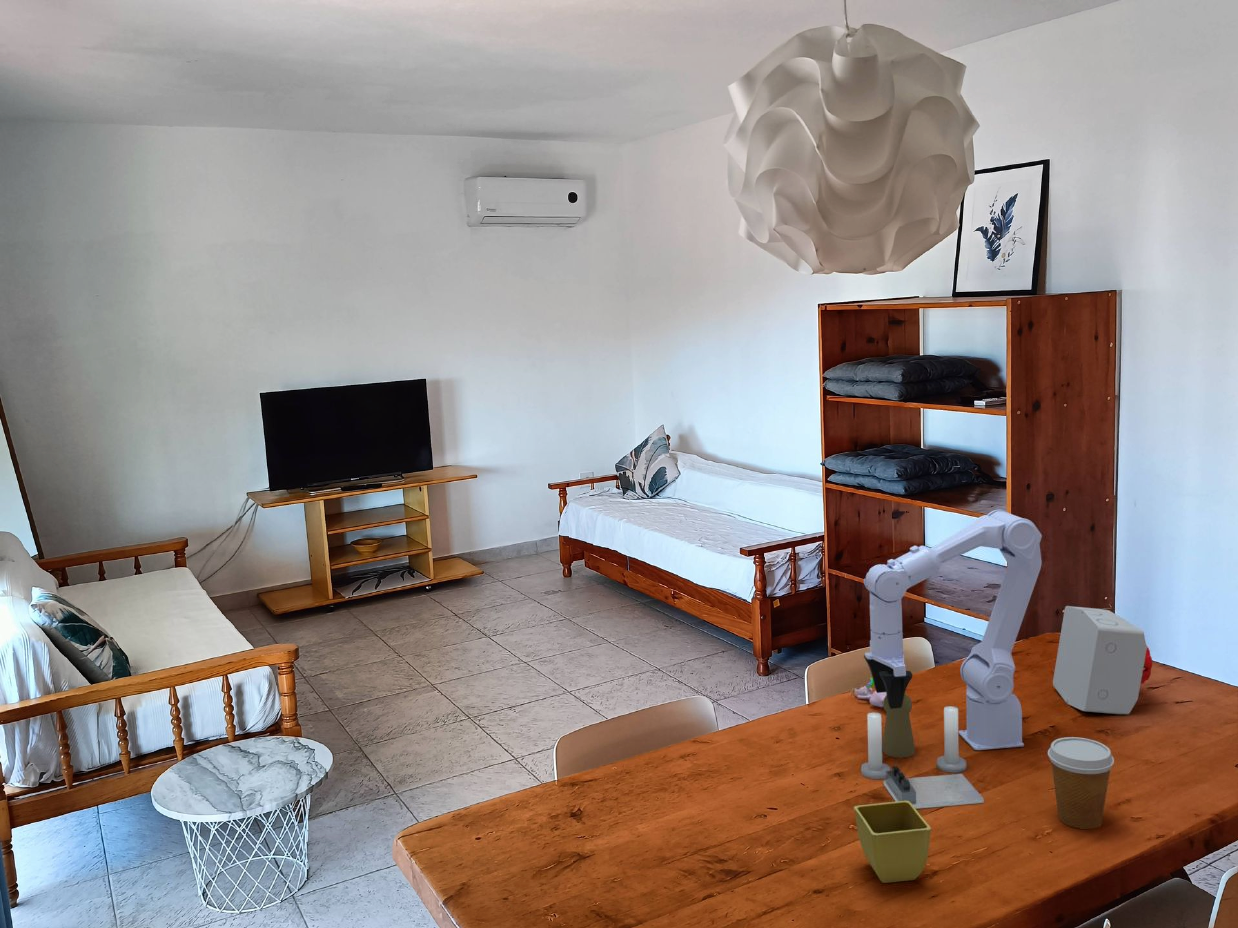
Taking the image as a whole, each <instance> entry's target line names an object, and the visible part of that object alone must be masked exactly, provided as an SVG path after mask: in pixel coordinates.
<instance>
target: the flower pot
mask: <svg viewBox="0 0 1238 928" xmlns="http://www.w3.org/2000/svg"><path fill="white" fill-rule="evenodd" d="M853 810H854V815H855V816H854V817H855V823H856V829H857V835H858V840H859V843H860V846H861V848H862V850H863V853H864V856H865V858H866V859H867V862H868V863H869V865H870V866H871V868H872V870H873V871H874V872H875V874H876V876H877V878H878V879H879V881H880V882H881V883H883V884H888V883H897V882H905V881H914V880H916V879H917V878H918V877H919V876H920V874H921V873H922V871H923V870H924V868H925V866H926V863H927V861H928V856H929V851H930V850H929V849H930V848H929V847H930V839H931V831H932V827H931V826H930V825H929V823H927V821H926V820H925V819H924V818H923V817H922V816H921V814H920V813H919V811H918V810H917V809H915V808H914V806H913V805H912V804H911V803H910V802H909V801H898V802H896V801H890V802H889V801H888V802H881V803H869V804H862V805H860V804H859V805H855V806H854V807H853Z"/></svg>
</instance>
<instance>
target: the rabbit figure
mask: <svg viewBox="0 0 1238 928" xmlns="http://www.w3.org/2000/svg"><path fill="white" fill-rule="evenodd" d="M869 679H870V682H868V683H867V684H866V685H862V684H860V686H861V687H860V688H858V689H857V688H856V687H854V688H853V687H851V688H852V689H851V692H850V693H851V695H854V694H855V697H856V698H857V699H858V700H869V703H870V705H872V706H874V707H876V708H884V706H883V701H884V698H885V696H886V695H887V694H886V692H881V693H877V692H876V690H875V691H873V688H875V686H874V682H873V678H872V677H870V678H869Z"/></svg>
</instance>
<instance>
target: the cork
mask: <svg viewBox="0 0 1238 928" xmlns="http://www.w3.org/2000/svg"><path fill="white" fill-rule="evenodd" d="M883 706H884V707H883V709H884V711H885V712H886V713H885V721H884V731H883V737H882V739H883V740H882V753H883V752H884V753H883V754H885V755H886V756H888V757H892V758H900V759H903V757H905V758H909V757H912V756H914V755H915V753H916V747H915V742H914V735H913V730H912V723H911V717H910V713H911V711H912V708H913V701H912V699H911V698H910V696H909V695H907V694H904V699H903V703H902V707H901V708H893V709H891V708H890V707H889V704H888V700H887V695H886V696H885V698H884V701H883Z"/></svg>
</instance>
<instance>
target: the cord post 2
mask: <svg viewBox="0 0 1238 928" xmlns="http://www.w3.org/2000/svg"><path fill="white" fill-rule="evenodd" d="M943 731H944V732H943V742H944V743H943V744H944V745H943V746H944V748H943V749H944V755H941V756H939V757H937V759H936V766H937V768H938V769H939V770H941V771H943V772H946V773H949V772H950V774H961V773H964V772H965V771H966V770H967V760H966V759H964V758H963V757H960V756H959V709H958V707H956V706H950V705H949V706H944V708H943Z"/></svg>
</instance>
